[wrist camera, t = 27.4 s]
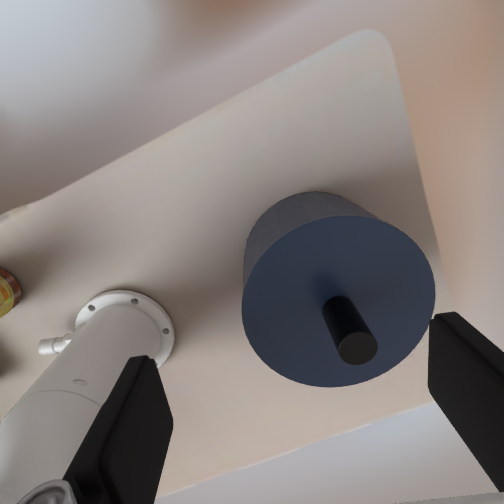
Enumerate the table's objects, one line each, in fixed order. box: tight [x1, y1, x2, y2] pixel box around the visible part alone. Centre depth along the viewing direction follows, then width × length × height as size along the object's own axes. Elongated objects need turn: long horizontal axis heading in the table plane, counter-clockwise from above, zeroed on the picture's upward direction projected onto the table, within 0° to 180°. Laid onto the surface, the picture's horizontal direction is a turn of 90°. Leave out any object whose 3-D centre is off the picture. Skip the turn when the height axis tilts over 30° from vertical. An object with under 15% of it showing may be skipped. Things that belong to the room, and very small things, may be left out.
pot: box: [243, 192, 380, 291], centre depth 34 cm, size 16×16×12 cm
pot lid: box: [242, 214, 435, 387], centre depth 26 cm, size 17×17×7 cm
